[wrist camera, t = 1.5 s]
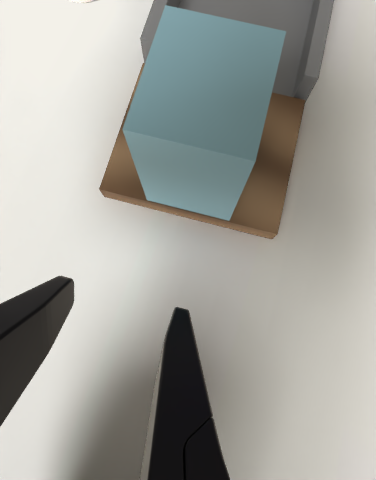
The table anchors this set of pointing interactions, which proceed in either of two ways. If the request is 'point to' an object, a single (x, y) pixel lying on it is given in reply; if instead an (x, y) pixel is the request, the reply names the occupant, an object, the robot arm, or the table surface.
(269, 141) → the board
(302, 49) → the box
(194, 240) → the table surface
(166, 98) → the block
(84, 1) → the white tall tapered cylinder
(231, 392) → the table surface
